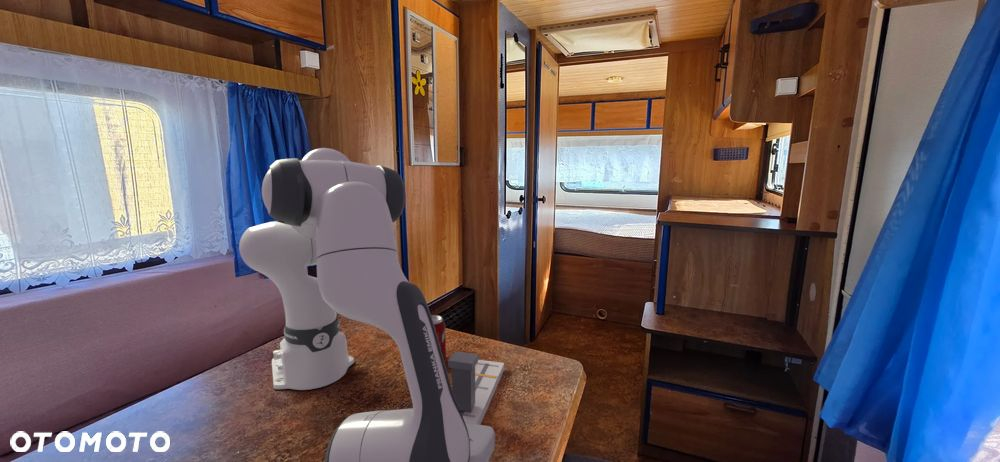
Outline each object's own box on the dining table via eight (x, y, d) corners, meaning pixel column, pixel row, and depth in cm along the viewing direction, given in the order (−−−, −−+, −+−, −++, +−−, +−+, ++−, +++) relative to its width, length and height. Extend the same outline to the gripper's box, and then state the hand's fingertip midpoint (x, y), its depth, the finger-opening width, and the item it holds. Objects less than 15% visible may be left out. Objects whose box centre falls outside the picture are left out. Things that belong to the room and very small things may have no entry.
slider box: (476, 433, 77) (476, 423, 77) (438, 426, 79) (438, 416, 79) (504, 370, 100) (504, 362, 100) (474, 366, 102) (474, 358, 102)
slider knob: (472, 414, 79) (472, 363, 77) (449, 410, 80) (448, 360, 78) (478, 402, 83) (478, 354, 81) (455, 398, 84) (455, 351, 82)
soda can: (440, 369, 100) (439, 325, 98) (415, 366, 102) (414, 323, 99) (449, 356, 107) (448, 315, 104) (425, 354, 108) (424, 313, 106)
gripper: (483, 459, 57) (504, 402, 70) (358, 435, 62) (400, 386, 75) (483, 496, 58) (504, 434, 72) (360, 470, 63) (401, 416, 76)
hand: (450, 409), depth 73 cm, fingers closed
